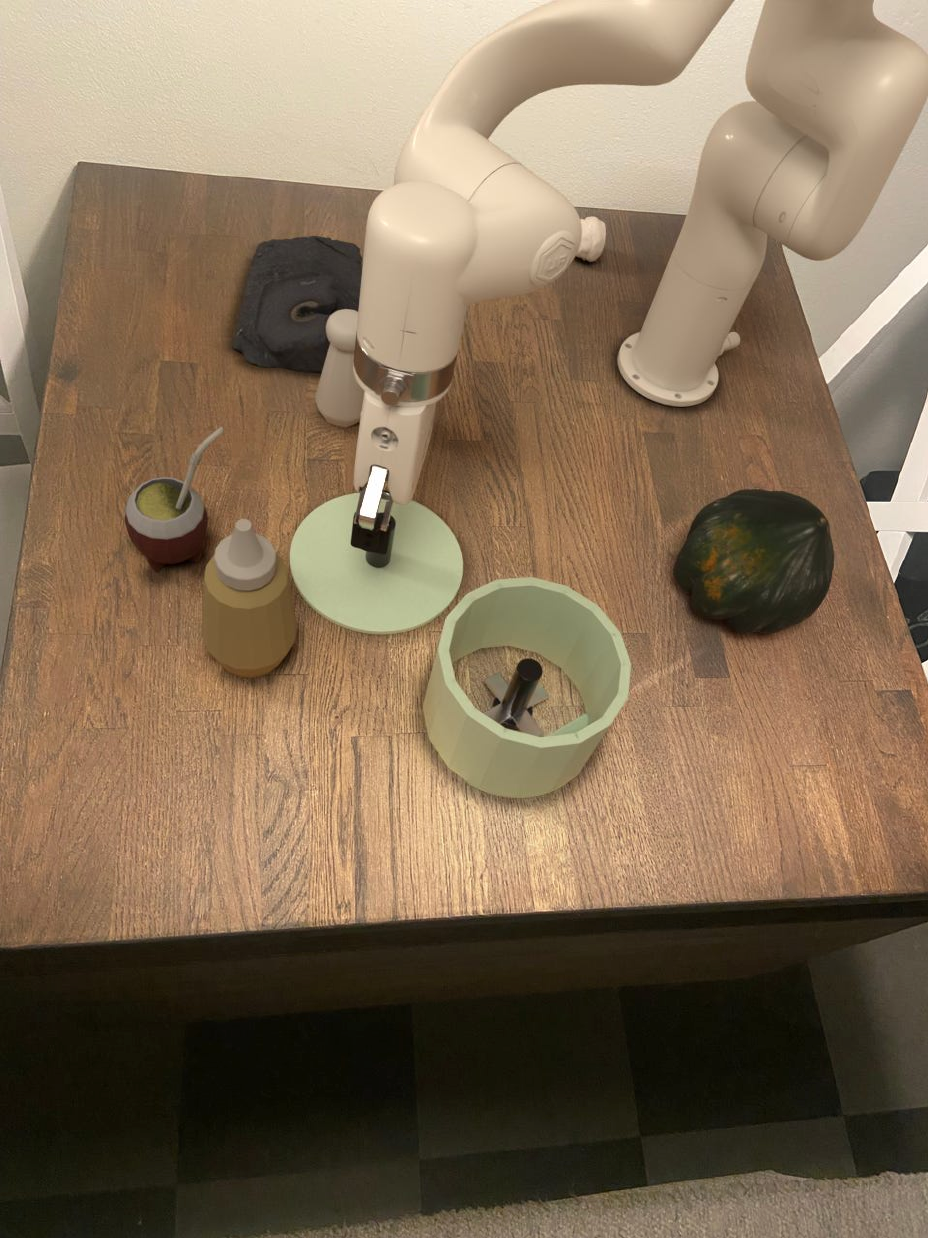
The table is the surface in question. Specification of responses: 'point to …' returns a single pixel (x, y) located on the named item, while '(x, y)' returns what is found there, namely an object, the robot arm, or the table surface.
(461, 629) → the green cylindrical sleeve
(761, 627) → the squash
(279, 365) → the dark slate chunk
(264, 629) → the squeeze bottle
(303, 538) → the lid
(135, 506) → the mate gourd
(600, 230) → the garlic bulb
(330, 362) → the salt shaker
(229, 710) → the table surface
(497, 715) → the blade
